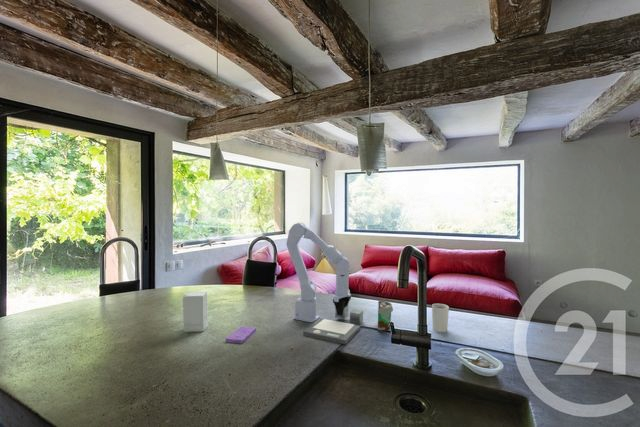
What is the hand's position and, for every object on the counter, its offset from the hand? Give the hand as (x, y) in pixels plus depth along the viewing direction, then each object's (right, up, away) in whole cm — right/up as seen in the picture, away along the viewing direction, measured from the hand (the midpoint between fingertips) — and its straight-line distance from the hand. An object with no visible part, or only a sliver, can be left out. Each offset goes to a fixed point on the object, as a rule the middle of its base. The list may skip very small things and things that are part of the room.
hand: (341, 313), depth 140 cm
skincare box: (-61, -3, -13) cm, 63 cm away
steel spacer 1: (0, -2, 0) cm, 2 cm away
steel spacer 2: (+6, -3, -3) cm, 8 cm away
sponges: (-41, -3, -19) cm, 45 cm away
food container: (+18, -4, -9) cm, 20 cm away
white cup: (+41, -4, -10) cm, 42 cm away
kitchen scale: (-5, -3, -14) cm, 15 cm away
